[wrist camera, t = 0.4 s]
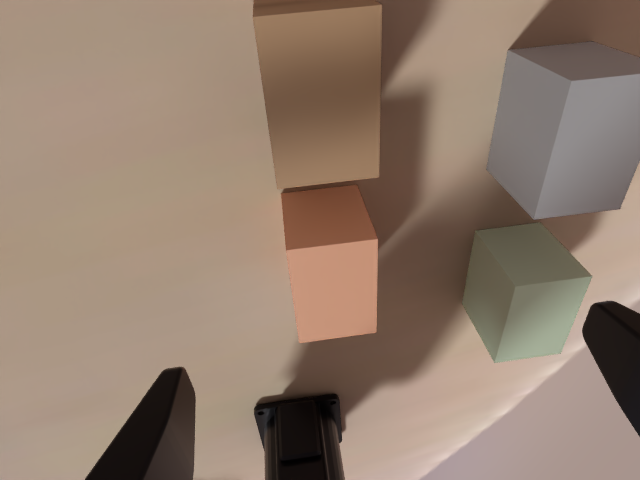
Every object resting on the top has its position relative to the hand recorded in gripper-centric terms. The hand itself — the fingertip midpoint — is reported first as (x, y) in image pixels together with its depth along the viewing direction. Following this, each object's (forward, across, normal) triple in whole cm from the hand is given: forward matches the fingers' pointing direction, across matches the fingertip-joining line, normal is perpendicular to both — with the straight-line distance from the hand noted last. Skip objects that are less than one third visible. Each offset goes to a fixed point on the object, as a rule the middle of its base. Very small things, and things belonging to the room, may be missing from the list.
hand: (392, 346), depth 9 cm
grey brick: (+14, -11, +1) cm, 17 cm away
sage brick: (+14, -11, +11) cm, 20 cm away
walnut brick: (+14, 0, -3) cm, 14 cm away
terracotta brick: (+14, 0, +6) cm, 15 cm away
